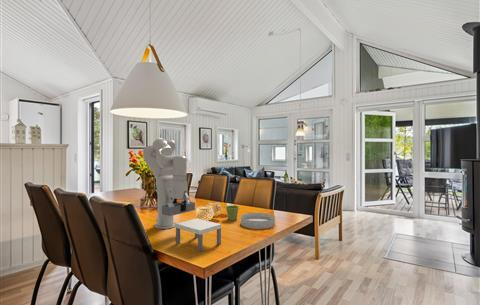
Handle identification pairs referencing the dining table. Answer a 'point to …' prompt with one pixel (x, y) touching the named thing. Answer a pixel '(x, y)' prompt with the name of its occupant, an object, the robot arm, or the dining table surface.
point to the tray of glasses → (177, 208)
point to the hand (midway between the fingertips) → (179, 209)
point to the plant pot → (232, 212)
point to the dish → (257, 220)
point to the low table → (198, 230)
